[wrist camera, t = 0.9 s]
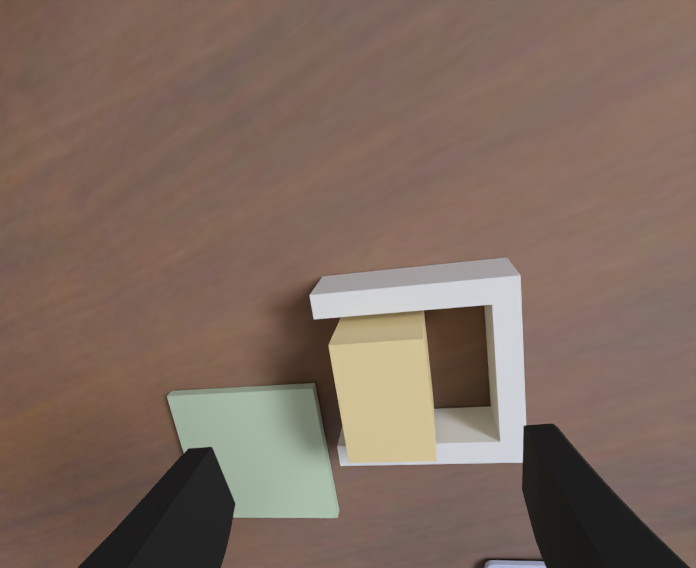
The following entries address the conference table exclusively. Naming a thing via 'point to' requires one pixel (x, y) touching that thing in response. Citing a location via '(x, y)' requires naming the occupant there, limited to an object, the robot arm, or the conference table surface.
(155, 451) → the conference table surface
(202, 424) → the mat
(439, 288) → the frame
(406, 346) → the block
